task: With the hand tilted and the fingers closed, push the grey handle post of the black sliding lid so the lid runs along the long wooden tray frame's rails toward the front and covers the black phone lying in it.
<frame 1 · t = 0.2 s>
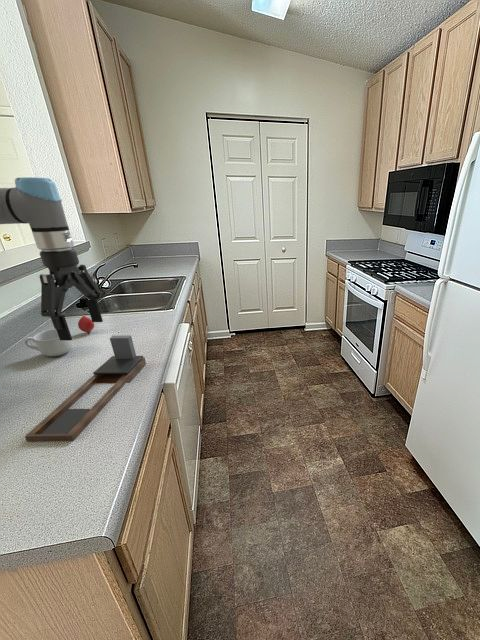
hand: (83, 330, 91), 20 cm above the counter, tool pointing down, fingers open, 13 cm apart
teacup: (53, 354, 125), on the counter
lid: (116, 354, 107), point 7 cm above the counter, slide at 0.0 cm
long wooden tray frame: (98, 396, 97), on the counter
onion: (88, 333, 144), on the counter
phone: (67, 424, 84), point 1 cm above the counter, touching long wooden tray frame
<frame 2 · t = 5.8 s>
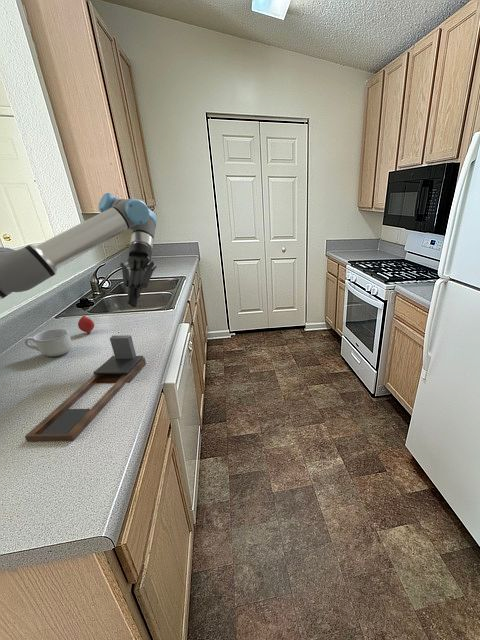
hand: (132, 305, 117), 18 cm above the counter, tool tilted 45°, fingers closed
nothing on the counter moved.
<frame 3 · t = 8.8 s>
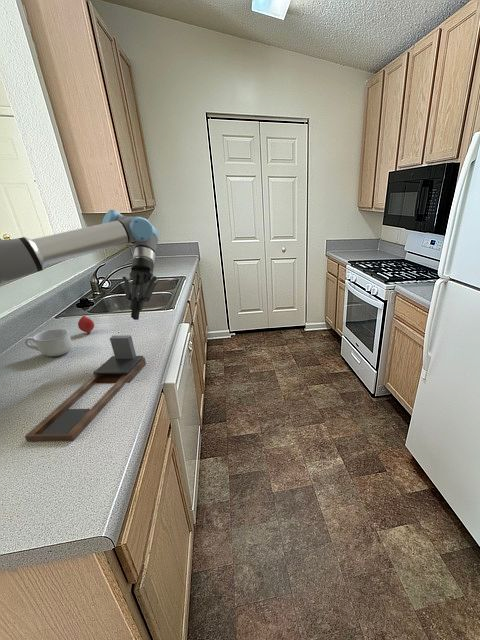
hand: (134, 318, 119), 13 cm above the counter, tool tilted 45°, fingers closed
nothing on the counter moved.
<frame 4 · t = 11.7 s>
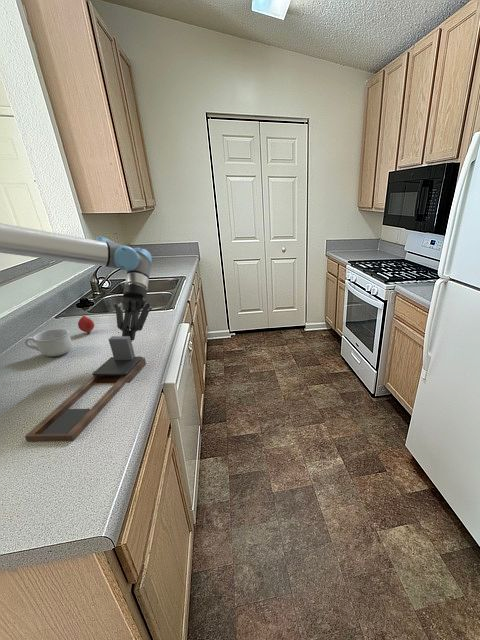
hand: (126, 348, 113), 6 cm above the counter, tool tilted 45°, fingers closed
lid: (115, 355, 107), point 7 cm above the counter, slide at 0.8 cm, touching gripper
everything else where it was.
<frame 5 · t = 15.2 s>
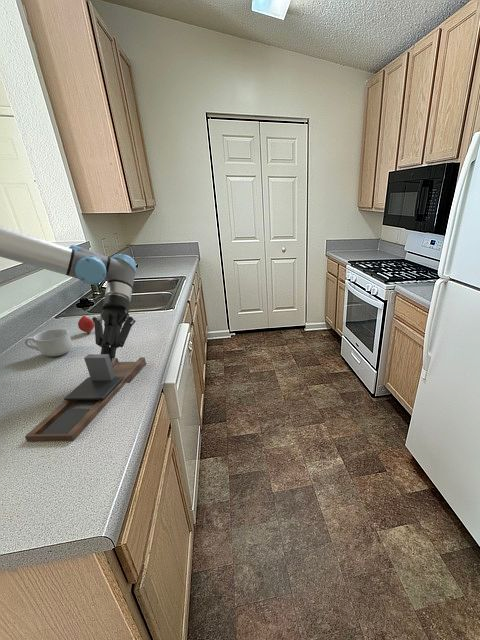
hand: (105, 367, 101), 6 cm above the counter, tool tilted 45°, fingers closed
lid: (91, 376, 94), point 7 cm above the counter, slide at 14.7 cm, touching gripper
everything else where it was.
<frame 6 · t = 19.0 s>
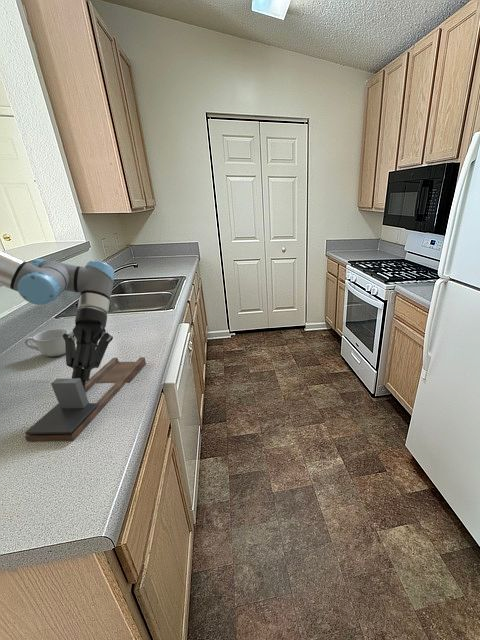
hand: (77, 392, 88), 6 cm above the counter, tool tilted 45°, fingers closed
lid: (59, 405, 81), point 7 cm above the counter, slide at 29.2 cm, touching gripper
everything else where it was.
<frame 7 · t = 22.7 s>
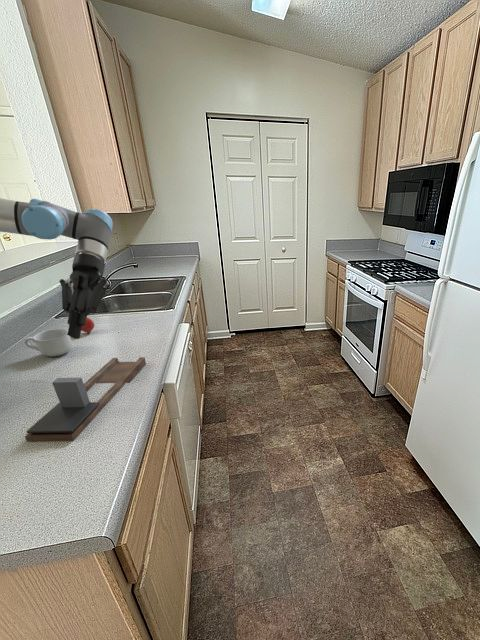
hand: (73, 336, 87), 20 cm above the counter, tool tilted 45°, fingers closed
lid: (60, 404, 81), point 7 cm above the counter, slide at 28.7 cm
everything else where it was.
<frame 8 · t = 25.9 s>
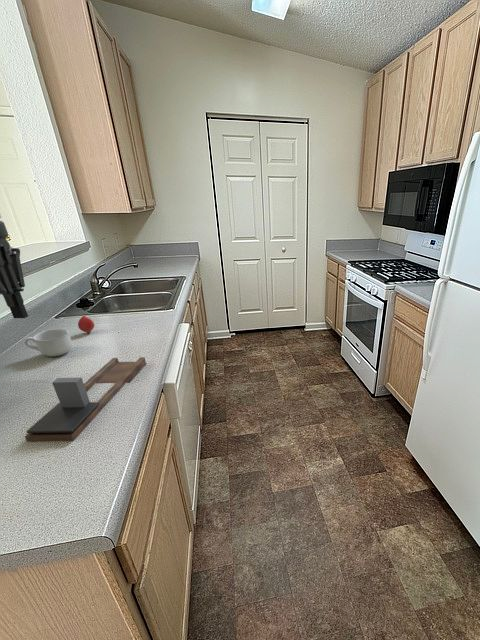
hand: (21, 317, 87), 24 cm above the counter, tool pointing down, fingers closed
nothing on the counter moved.
at the end: lid slide at 28.7 cm; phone inside the target area on the long wooden tray frame (0.1 cm from its centre), point 1.1 cm above the long wooden tray frame's base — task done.
